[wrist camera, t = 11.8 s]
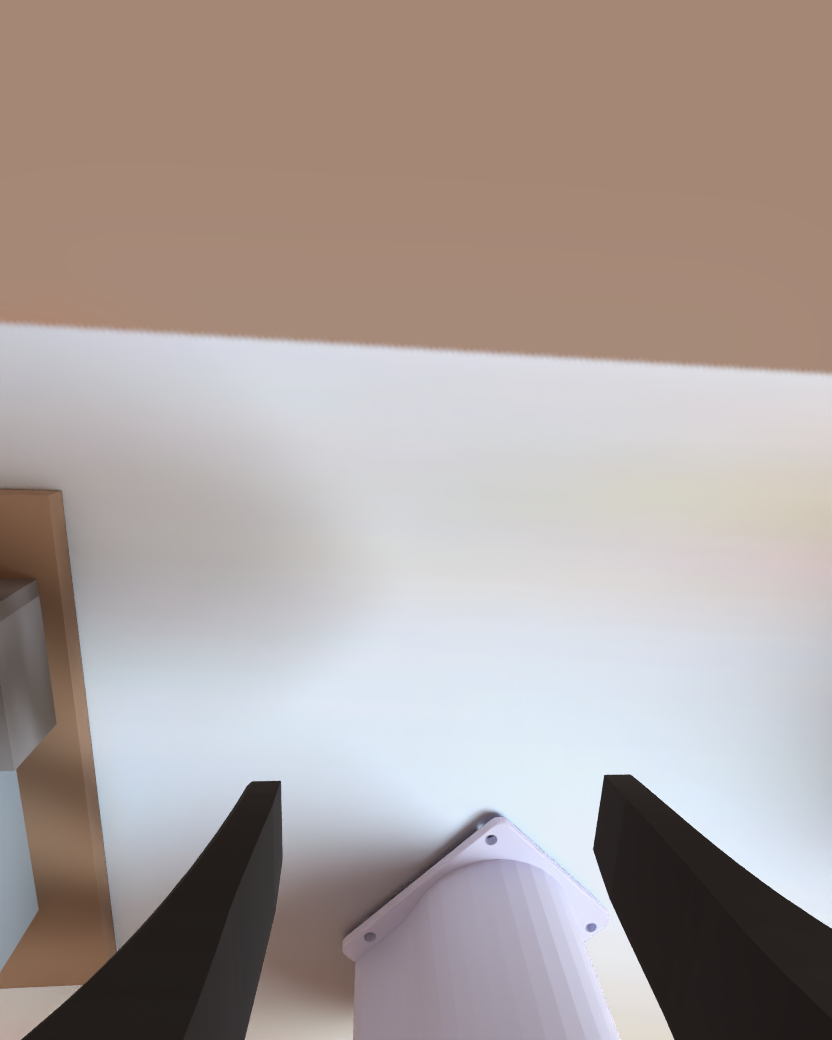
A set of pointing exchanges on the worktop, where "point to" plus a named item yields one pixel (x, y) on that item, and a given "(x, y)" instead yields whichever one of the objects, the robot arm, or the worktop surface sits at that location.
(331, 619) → the worktop surface
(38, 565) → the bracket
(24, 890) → the rail
